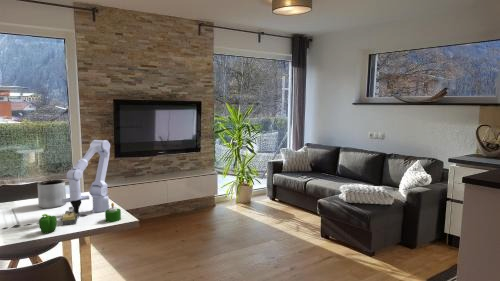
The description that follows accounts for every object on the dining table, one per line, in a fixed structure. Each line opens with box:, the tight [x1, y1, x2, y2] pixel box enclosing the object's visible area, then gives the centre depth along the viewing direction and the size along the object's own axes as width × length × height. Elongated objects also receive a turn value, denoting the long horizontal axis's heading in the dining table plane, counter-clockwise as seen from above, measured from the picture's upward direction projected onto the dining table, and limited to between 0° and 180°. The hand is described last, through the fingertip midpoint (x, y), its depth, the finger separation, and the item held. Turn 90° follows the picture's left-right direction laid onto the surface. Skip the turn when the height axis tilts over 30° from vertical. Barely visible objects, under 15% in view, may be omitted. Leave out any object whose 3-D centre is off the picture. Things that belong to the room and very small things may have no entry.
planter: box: [37, 179, 67, 209], centre depth 239 cm, size 16×16×16 cm
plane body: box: [61, 210, 80, 226], centre depth 211 cm, size 20×7×2 cm, turn 21°
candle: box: [104, 202, 122, 223], centre depth 209 cm, size 8×8×10 cm
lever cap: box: [62, 213, 76, 221], centre depth 205 cm, size 6×7×2 cm
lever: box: [67, 206, 74, 214], centre depth 214 cm, size 3×9×2 cm, turn 21°
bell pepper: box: [38, 213, 58, 234], centre depth 191 cm, size 8×8×10 cm
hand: (76, 213), depth 212 cm, fingers closed
